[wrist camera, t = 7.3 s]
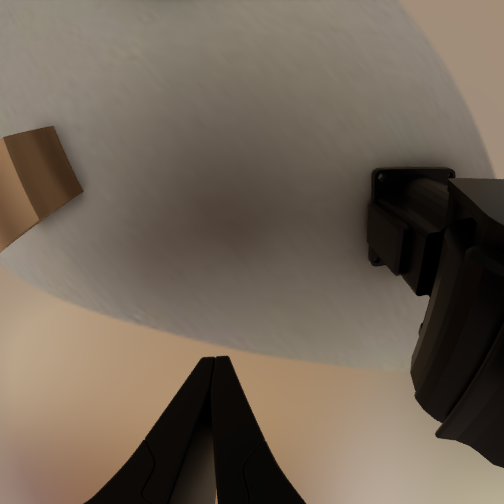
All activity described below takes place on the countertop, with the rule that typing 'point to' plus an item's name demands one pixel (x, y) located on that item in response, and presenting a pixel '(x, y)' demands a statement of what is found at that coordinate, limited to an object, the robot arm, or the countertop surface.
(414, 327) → the countertop surface
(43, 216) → the walnut cube
